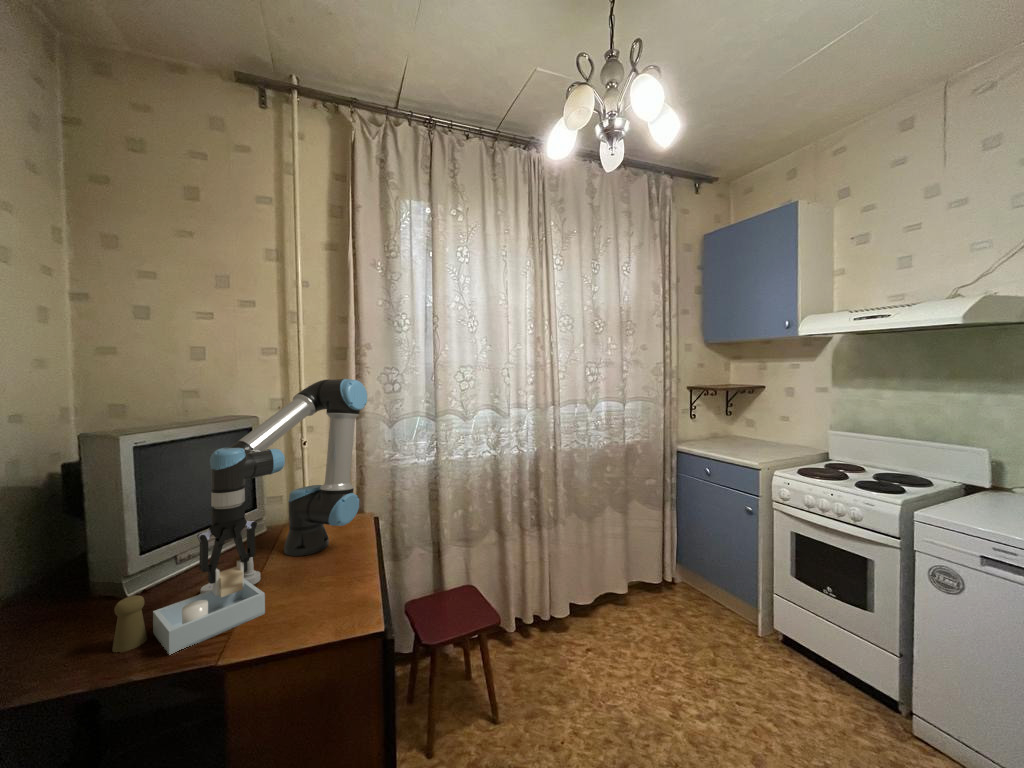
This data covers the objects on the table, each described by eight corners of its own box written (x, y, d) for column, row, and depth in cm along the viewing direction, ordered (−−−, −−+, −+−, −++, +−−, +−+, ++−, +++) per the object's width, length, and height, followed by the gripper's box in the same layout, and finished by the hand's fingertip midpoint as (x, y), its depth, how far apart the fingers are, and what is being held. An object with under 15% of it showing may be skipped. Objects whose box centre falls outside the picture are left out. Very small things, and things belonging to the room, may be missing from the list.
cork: (127, 636, 96) (127, 592, 96) (154, 635, 97) (153, 591, 97) (104, 653, 90) (104, 606, 90) (132, 651, 91) (132, 605, 91)
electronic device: (199, 561, 117) (258, 547, 126) (201, 593, 117) (260, 577, 126) (198, 568, 112) (259, 553, 121) (200, 601, 113) (261, 583, 122)
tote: (244, 597, 114) (244, 578, 114) (264, 613, 105) (264, 593, 105) (153, 633, 97) (153, 611, 97) (169, 656, 89) (169, 631, 89)
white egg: (204, 624, 100) (204, 597, 100) (211, 632, 97) (210, 604, 97) (179, 635, 96) (179, 607, 96) (185, 643, 93) (185, 613, 93)
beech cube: (235, 584, 110) (235, 566, 111) (242, 589, 108) (242, 571, 108) (214, 591, 106) (214, 573, 106) (221, 597, 103) (221, 578, 104)
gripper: (258, 495, 117) (258, 572, 117) (182, 511, 102) (182, 599, 102) (269, 499, 112) (270, 579, 112) (191, 516, 98) (191, 608, 98)
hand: (228, 589), depth 107 cm, fingers closed on beech cube, 5 cm apart
